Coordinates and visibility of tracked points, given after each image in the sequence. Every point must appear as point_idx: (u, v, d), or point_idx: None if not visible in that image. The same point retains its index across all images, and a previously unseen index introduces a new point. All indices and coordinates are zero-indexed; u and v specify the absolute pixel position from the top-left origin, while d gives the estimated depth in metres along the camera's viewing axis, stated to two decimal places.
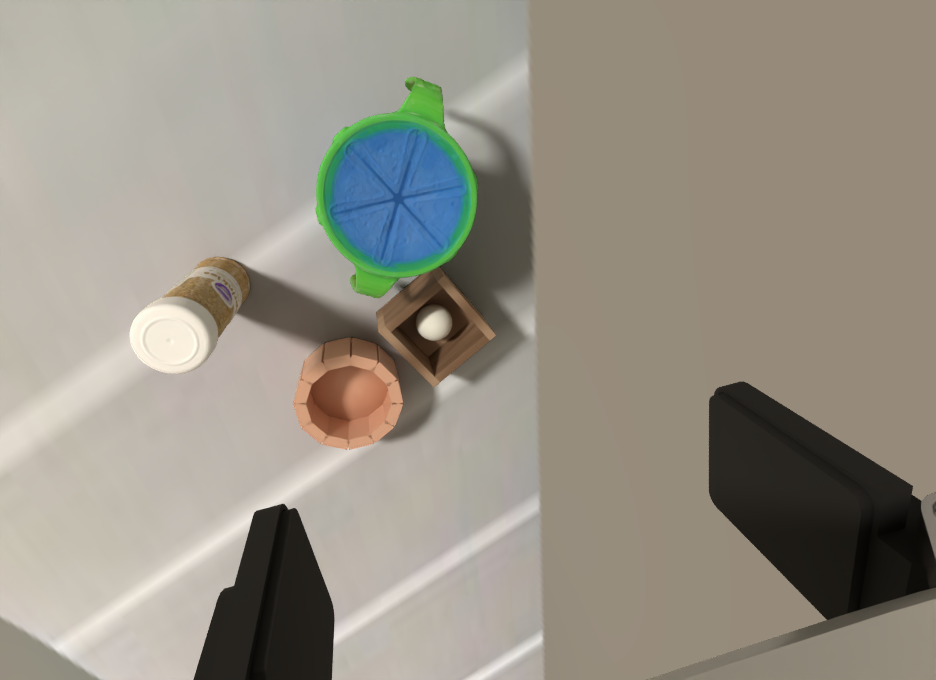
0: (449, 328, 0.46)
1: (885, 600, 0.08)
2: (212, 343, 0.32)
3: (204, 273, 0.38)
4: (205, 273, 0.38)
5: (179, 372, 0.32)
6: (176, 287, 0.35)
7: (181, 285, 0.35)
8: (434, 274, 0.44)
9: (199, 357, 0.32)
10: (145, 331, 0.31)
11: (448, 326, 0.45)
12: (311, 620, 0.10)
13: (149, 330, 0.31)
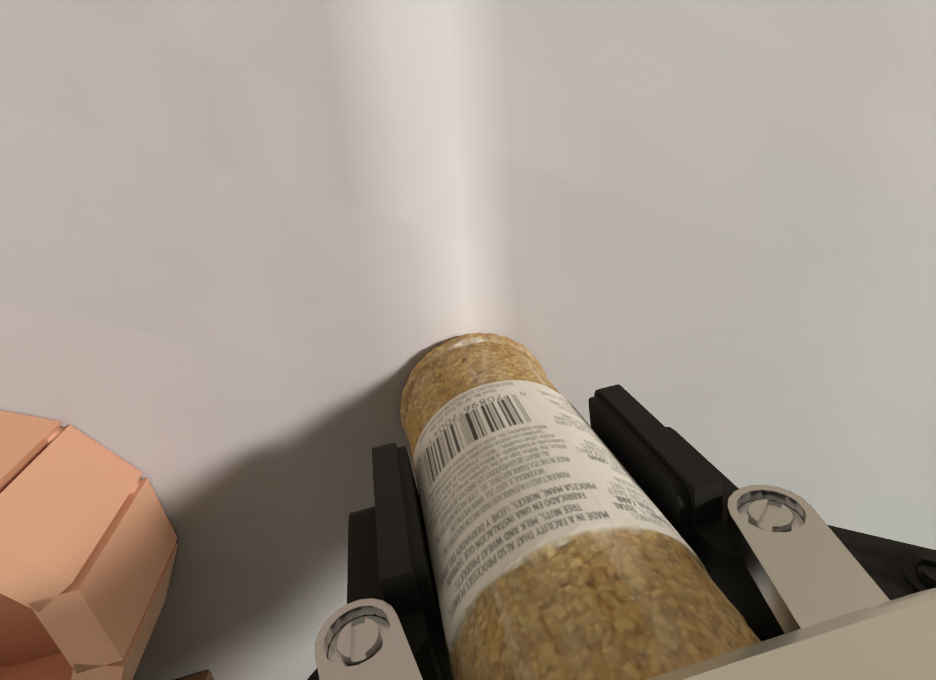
0: None
1: None
2: None
3: None
4: None
5: None
6: None
7: None
8: None
9: None
10: None
11: None
12: (426, 541, 0.11)
13: None
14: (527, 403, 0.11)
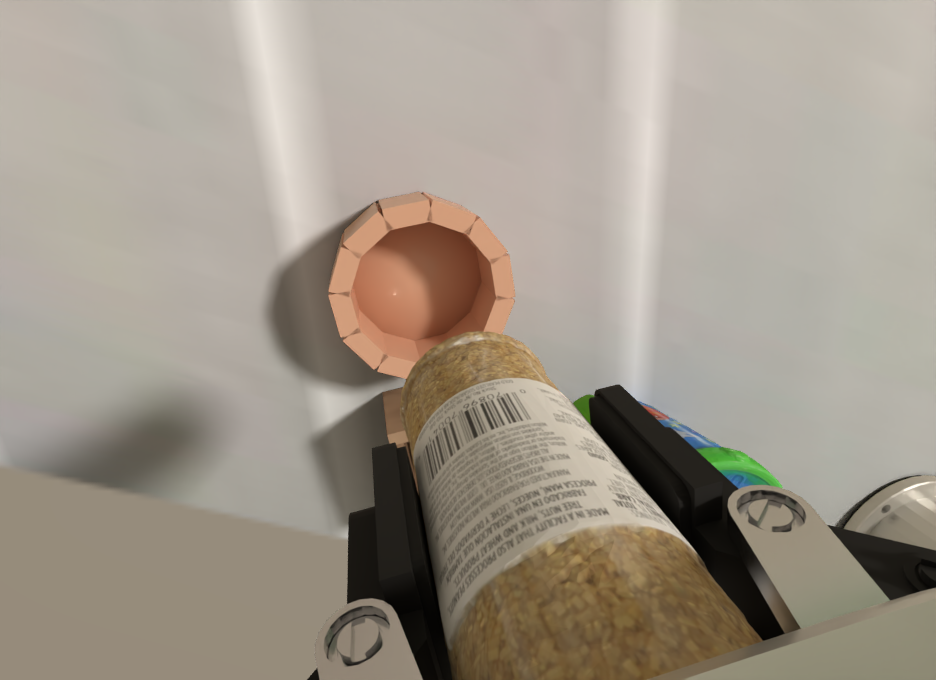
0: None
1: None
2: None
3: None
4: None
5: None
6: None
7: None
8: None
9: None
10: None
11: None
12: None
13: None
14: (527, 400, 0.11)
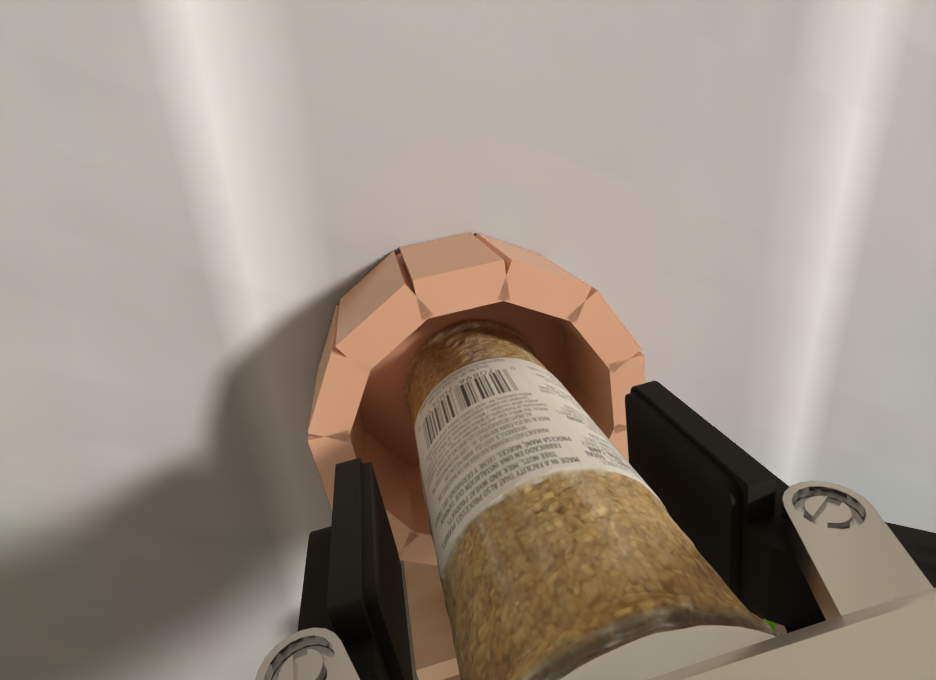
0: None
1: (757, 583, 0.09)
2: None
3: None
4: None
5: None
6: None
7: None
8: None
9: None
10: None
11: None
12: (390, 560, 0.11)
13: None
14: (516, 375, 0.12)
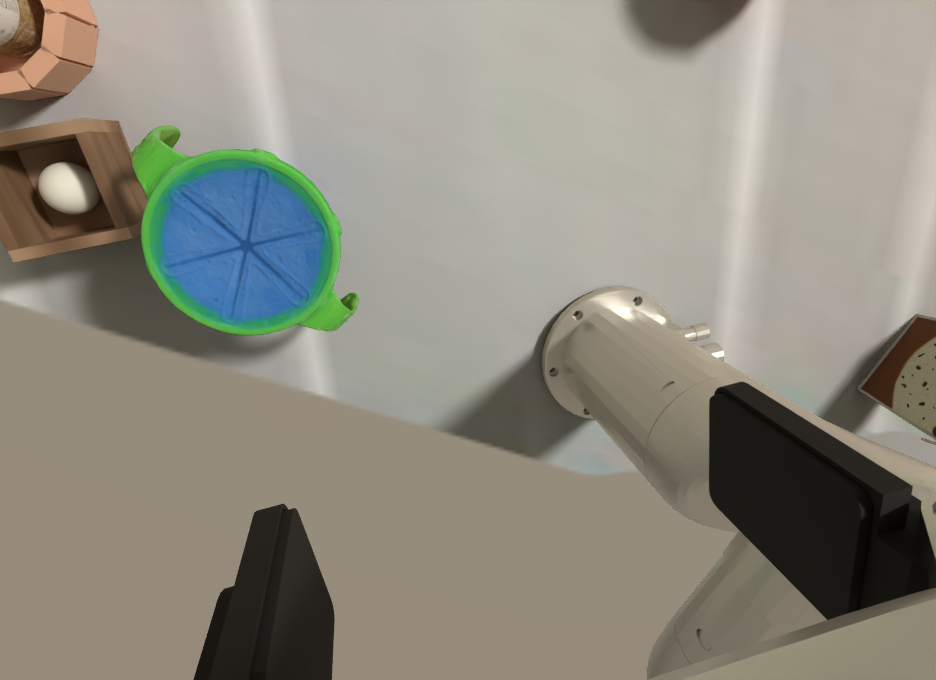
0: (51, 205, 0.33)
1: (885, 600, 0.08)
2: None
3: None
4: None
5: None
6: None
7: None
8: (140, 223, 0.34)
9: None
10: None
11: (54, 206, 0.33)
12: (311, 620, 0.10)
13: None
14: None
